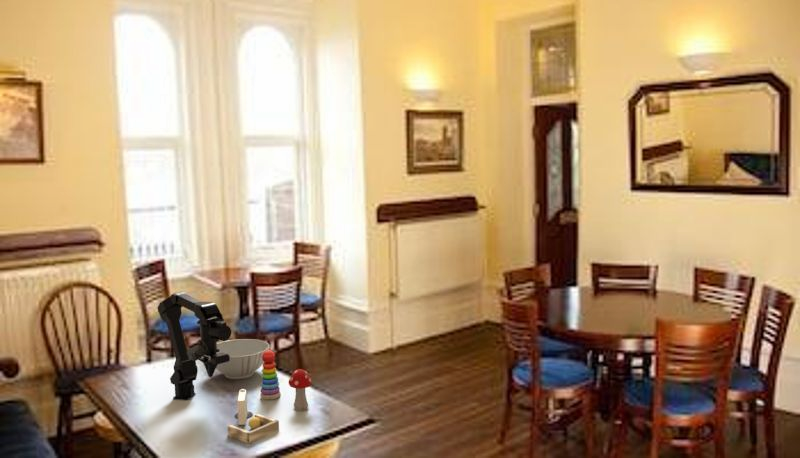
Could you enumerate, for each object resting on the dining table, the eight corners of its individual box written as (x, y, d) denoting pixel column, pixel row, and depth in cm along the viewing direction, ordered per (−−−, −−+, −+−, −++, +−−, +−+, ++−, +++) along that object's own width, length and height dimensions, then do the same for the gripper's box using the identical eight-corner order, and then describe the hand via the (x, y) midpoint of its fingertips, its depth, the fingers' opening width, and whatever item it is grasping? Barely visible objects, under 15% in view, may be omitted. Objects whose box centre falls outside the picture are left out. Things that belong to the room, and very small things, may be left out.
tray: (228, 435, 233) (227, 425, 232) (257, 422, 243) (257, 413, 243) (249, 443, 226) (249, 433, 226) (279, 430, 237) (278, 420, 236)
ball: (250, 431, 236) (246, 427, 239) (261, 429, 238) (256, 425, 241) (252, 420, 235) (247, 416, 239) (262, 418, 238) (257, 414, 241)
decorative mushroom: (286, 405, 260) (285, 367, 258) (308, 401, 263) (307, 364, 261) (293, 414, 251) (291, 375, 249) (315, 410, 254) (314, 371, 252)
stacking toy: (284, 394, 271) (282, 348, 269) (274, 401, 264) (272, 354, 262) (266, 392, 274) (265, 347, 272) (256, 399, 266) (254, 352, 264)
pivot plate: (231, 415, 250) (231, 415, 250) (245, 410, 255) (245, 409, 255) (241, 420, 246) (241, 419, 246) (256, 415, 251) (256, 414, 251)
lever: (238, 425, 240) (237, 399, 239) (240, 413, 251) (239, 389, 250) (245, 424, 241) (244, 399, 240) (247, 413, 251) (246, 388, 250)
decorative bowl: (263, 384, 283) (262, 356, 281) (199, 385, 283) (198, 357, 282) (276, 364, 309) (275, 338, 308) (217, 365, 310) (216, 339, 308)
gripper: (176, 336, 256) (178, 376, 258) (203, 345, 244) (205, 387, 245) (202, 330, 264) (204, 369, 266) (229, 339, 252) (231, 379, 254)
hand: (210, 376), depth 258 cm, fingers closed
